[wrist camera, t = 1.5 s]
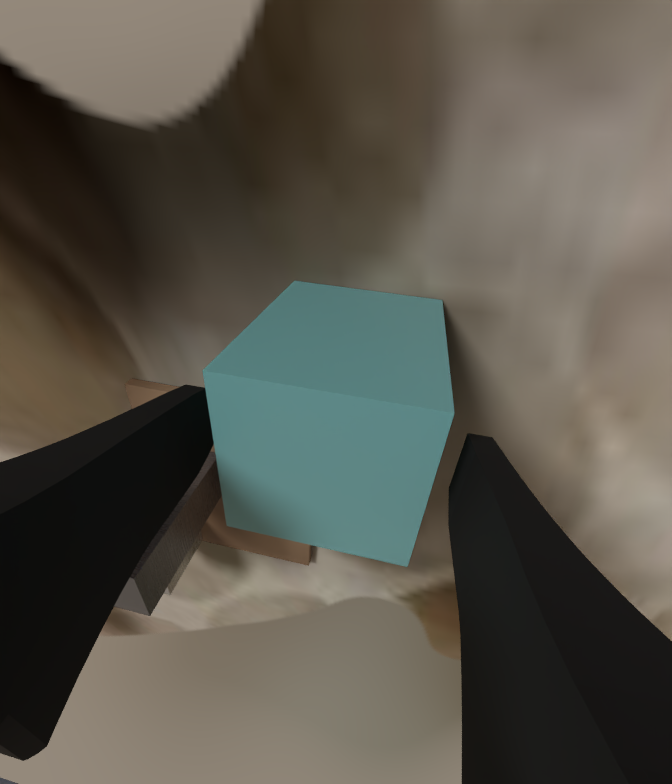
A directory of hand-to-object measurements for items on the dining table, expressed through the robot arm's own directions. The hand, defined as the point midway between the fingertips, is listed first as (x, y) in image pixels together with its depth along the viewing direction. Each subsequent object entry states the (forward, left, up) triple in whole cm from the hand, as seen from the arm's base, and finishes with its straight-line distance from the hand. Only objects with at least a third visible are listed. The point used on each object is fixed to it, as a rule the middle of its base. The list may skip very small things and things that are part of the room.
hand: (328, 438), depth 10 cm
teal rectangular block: (0, 0, -5) cm, 5 cm away
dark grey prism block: (+7, +7, -5) cm, 12 cm away
